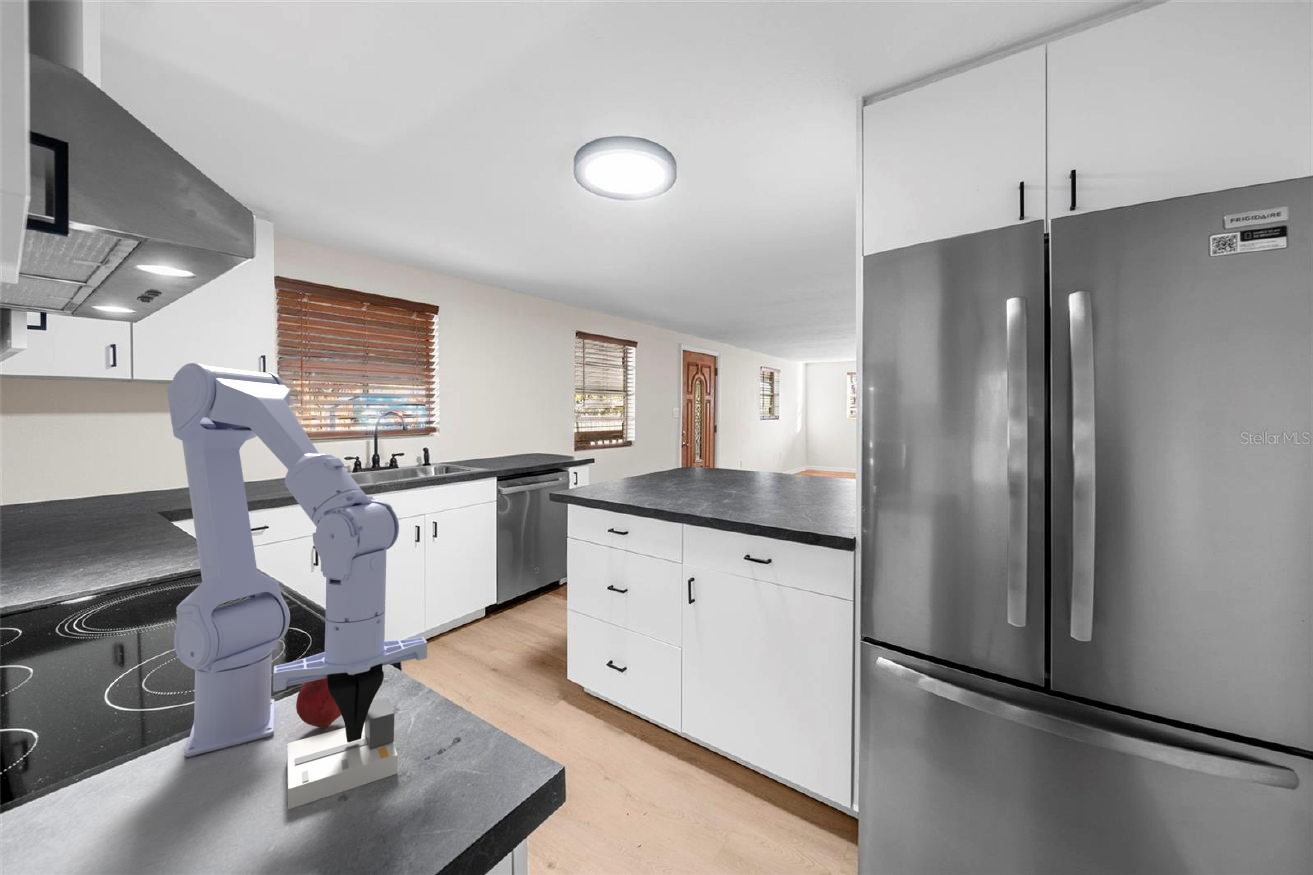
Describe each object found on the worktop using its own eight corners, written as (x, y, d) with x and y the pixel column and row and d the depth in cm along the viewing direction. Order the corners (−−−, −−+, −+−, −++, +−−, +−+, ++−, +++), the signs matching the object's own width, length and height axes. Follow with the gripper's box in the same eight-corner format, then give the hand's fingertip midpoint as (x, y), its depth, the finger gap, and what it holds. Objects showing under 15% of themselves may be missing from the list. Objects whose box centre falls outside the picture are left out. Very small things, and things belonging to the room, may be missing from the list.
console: (286, 761, 57) (287, 742, 57) (383, 733, 63) (384, 716, 63) (287, 809, 50) (288, 788, 50) (397, 773, 56) (397, 754, 56)
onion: (324, 744, 61) (325, 676, 61) (283, 737, 62) (284, 670, 62) (362, 718, 66) (363, 655, 66) (323, 712, 68) (325, 651, 68)
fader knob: (364, 731, 60) (365, 703, 60) (387, 725, 61) (388, 697, 61) (369, 748, 56) (370, 719, 56) (393, 741, 58) (394, 713, 58)
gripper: (273, 639, 50) (271, 780, 50) (434, 612, 58) (431, 732, 58) (274, 617, 55) (272, 744, 55) (420, 595, 64) (418, 705, 64)
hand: (353, 736), depth 57 cm, fingers closed
